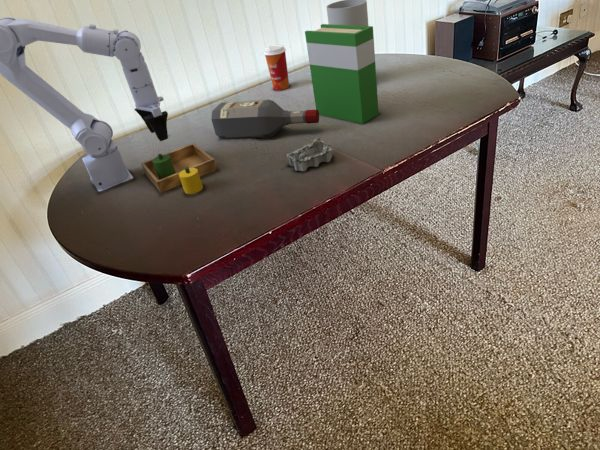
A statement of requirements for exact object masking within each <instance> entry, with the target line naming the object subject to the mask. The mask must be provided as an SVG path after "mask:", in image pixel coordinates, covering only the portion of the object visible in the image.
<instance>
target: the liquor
mask: <svg viewBox="0 0 600 450" xmlns="http://www.w3.org/2000/svg"><path fill="white" fill-rule="evenodd" d="M210 119H211V123H212V126H213V130H214V133H215V136H217V137H218V138H219V139H237V138H238V139H239V138H240V139H241V138H253V139H263V138H265V139H266V138H272V137H275V135H276V134H278V133H279V131H281V130H282V129H283V128H284V126H287V125H295V124H296V125H297V124H318V123H319V122H320V115H319V111H318V110H316V109H306V110H284V108H282V107H281V106H280V105H279V104H278V103H276V102H275V101H274V100H272V99H259V100H244V101H243V100H241V101H239V100H238V101H225V102H223V101H222V102H220V103H219V104H218V105H217V106H215V108H213V109H212V111H211V118H210Z"/></svg>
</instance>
